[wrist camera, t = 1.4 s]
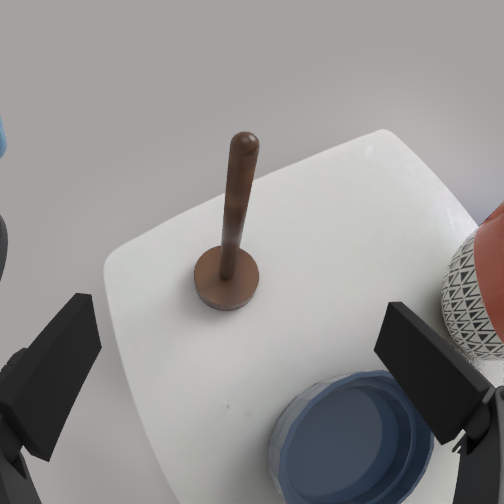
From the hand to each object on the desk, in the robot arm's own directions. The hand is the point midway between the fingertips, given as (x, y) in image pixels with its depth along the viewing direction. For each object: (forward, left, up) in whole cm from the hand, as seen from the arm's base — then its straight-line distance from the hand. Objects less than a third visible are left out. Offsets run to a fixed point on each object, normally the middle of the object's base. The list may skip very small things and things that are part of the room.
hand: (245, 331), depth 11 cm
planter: (+34, +7, -19) cm, 40 cm away
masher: (-1, +10, -19) cm, 21 cm away
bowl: (+13, -9, -19) cm, 25 cm away
